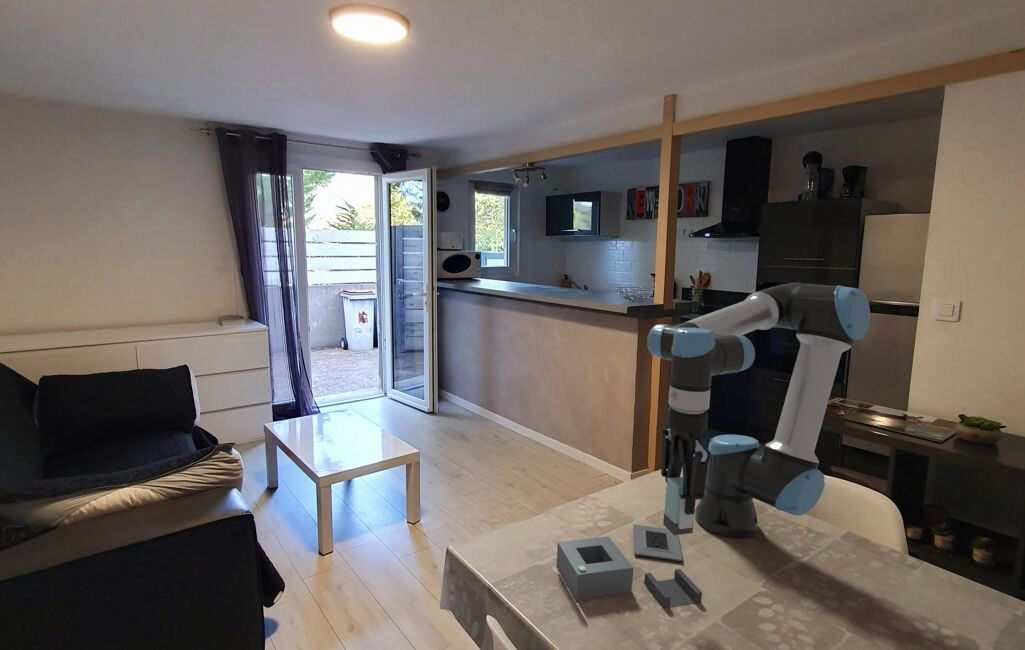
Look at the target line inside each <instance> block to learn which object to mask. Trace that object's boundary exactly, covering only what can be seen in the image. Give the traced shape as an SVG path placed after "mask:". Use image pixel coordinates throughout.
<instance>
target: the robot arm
mask: <svg viewBox="0 0 1025 650" xmlns="http://www.w3.org/2000/svg"><path fill="white" fill-rule="evenodd" d="M870 307H871V306H870V303H869V300H868V297H867V296H866V294H865V293H864V292H863V291H862V290H861V289H859V288H855V287H850V286H849V287H848V286H844V285H831V284H829V285H827V284H814V283H802V282H791V283H790V282H789V283H785V284H779V285H775V286H771V287H769V288H764V289H762V290H758V291H756V292H753V293H751V294H749V295H748V296H747V297H746V298H745V299H744V300H743V301H740V302H738V303H735V304H732V305H729V306H727V307H723V308H722V309H718V310H715V311H713V312H710V313H707V314H704V315H701V316H698V317H696V318H693V319H690V320H688V321H684V322H682V323H678V324H675V325H670V324H656V325H654V326H653V327H652V328H651V329H650V331H649V332H648V334H647V338H646V341H647V342H646V343H647V344H646V346H647V348H648V351H649V353H650V354H651V355H652V356H655V357H657V358H660V359H662V360H668V361H671V365H670V376H669V377H670V380H669V390H668V391H669V392H668V394H667V395H668V402H667V403H668V405H669V406H668V407H667V413H666V425H667V427H668V428H663V429H662V431H661V435H662V452H661V471H660V473H661V477H663V478H664V480H665V483H666V484H667V478H674V477H681V475H682V477H683V493H684V495H680V509H679V521H678V528H679V529H685V528H692V526H693V527H694V523H693V522H694V518H695V521H696V522H697V524H699V526H701V527H702V528H704V529H705V530H707V531H709V532H710V533H711V532H712V533H714V534H715V535H719V536H723V537H728V538H733V539H734V538H738V539H744V538H749V537H752V536H754V535H755V534H756V533H757V532H758V526H759V520H758V517H757V513H756V512H757V511H756V507H755V503H754V499H755V500H758V502H759V501H760V502H762V503H764V504H766V505H768V506H770V507H773V508H775V509H776V510H778V511H781V512H784V513H787V514H789V515H792V516H798V517H799V516H803V515H805V514H807V513H809V512H810V511H811V510H812V509H813V508H814V507H815V506H816V505H817V503H818V502H819V500H820V498H821V496H822V495H823V492H824V489H825V485H826V483H825V480H826V478H825V475H824V473H823V472H822V471H821V470H819V469H818V468H819V467H818V466H819V464H820V461H819V459H818V456H817V455H816V454H815V449H816V446H817V443H818V439H819V435H820V432H821V428H822V425H823V421H824V418H825V415H826V410H827V407H828V403H829V400H830V396H831V392H832V389H833V385H834V381H835V377H836V375H837V372H838V367H839V364H840V360H841V357H842V353H844V352H846V351H849V350H850V349H852V346H853V342H854V340H855V341H858V340H861V339H864V338H865V336H866V334H867V333H868V331H869V329H870V324H871V308H870ZM772 328H782V329H789V330H794V331H796V335H795V336H796V338H797V340H798V341H799V343H800V346H799V350H798V353H797V357H796V360H795V363H794V364H795V365H794V367H793V371H792V374H791V379H790V381H789V385H788V388H787V392H786V395H785V399H784V404H783V406H782V409H781V414H780V416H779V417H780V418H779V421H778V425H777V427H776V430H775V434H774V435H775V436H774V439H773V440H771V441H769V442H767V443H765V445H764V449H763V450H762V449H760V443H759V440H757V438H754V437H751V436H747V435H742V434H741V435H740V434H721V435H717V436H713V438H711V439H710V441H709V444H708V450H705V449H704V447H703V446H702V445H703V441H702V434H703V433H704V432H705V431H706V430H707V429H708V421H709V412H708V410H709V409H710V404H711V403H710V402H711V401H710V399H711V389H712V388H711V386H712V379H713V376H719V375H726V374H735V373H736V374H737V373H739V372H741V371H745V370H748V369H749V368H750V367H751V366H752V365H753V363H754V361H755V357H756V350H755V347H754V344H753V342H752V341H751V340H750V338H748V337H746V336H745V335H746V334H749V333H751V332H753V331H756V330H762V331H766V330H770V329H772ZM697 500H699V502H698V503H697V505H696V501H697ZM693 515H694V518H693Z"/></svg>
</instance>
